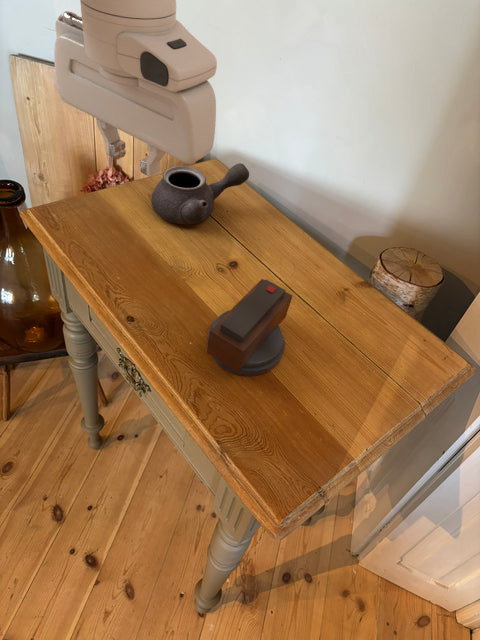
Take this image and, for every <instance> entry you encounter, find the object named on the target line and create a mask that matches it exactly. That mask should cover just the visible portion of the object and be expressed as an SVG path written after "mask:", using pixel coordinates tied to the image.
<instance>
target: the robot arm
mask: <svg viewBox="0 0 480 640" xmlns="http://www.w3.org/2000/svg"><path fill="white" fill-rule="evenodd" d="M79 3H80V13H81V14H80V15H81V16H79V15H78V14H76V13H75V12H72V11H69V10H66V11H64V12H63V13H61V14H60V15H59V16H58V18H57V20H55V23H54V24H55V35H56V39H55V42H54V50H53V52H54V54H53V57H54V58H53V59H54V78H55V88H56V91H57V94H58V95H59V97H60V99H61V100H62V102H64V103H65V104H67V105H69V106H71V107H73V108H75V109H77V110H79V111H81V112H83V113H85V114H87V115H89V116H91V117H94V118H95V119H96V127H97V129H98V131H99V133H100V135H101V136H102V137H101V138H102V139H103V141H104V143H105V148H106V149H105V150H106V155H107V156H109V157H111V158H113V159H115V160H120V159H122V158H124V157H125V156H126V155H127V154H126V152H127V151H126V141H124V140H123V139H121V136H120V134H119V131H121V132H123V133H125V134H127V135H129V136H131V137H133V138H135V139H137V140H139V141H141V142H143V143H145V144H146V151H147V152H149V153H150V154H149V155H148V156H146V157H143V158H142V159H140V160H139V165H140V169H139V170H140V173H142V174H143V175H145V176H147V177H149V178H151V179H152V178H154V177H155V176H158V174H159V173H160V165H161V164H160V163H161V160H162V159H163V158H164V156H165V155H169V156H171V157H173V158H174V159H177V160H179V161H181V162H183V163H185V164H187V165H191V164H194V163H196V162H198V161H199V160H202V159H203V158H205V157H206V156H207V155H209V153H210V152H211V151H212V150H213V147H214V144H215V143H214V142H215V134H216V123H217V122H216V121H217V100H216V94H215V93H216V92H215V90H214V87H213V86H212V84H211V83H210V81H208V80H210V79H212V78H213V77H214V76H215V75H216V72H217V68H218V67H217V66H218V62H217V61H218V60H217V58H216V56H215V54H214V53H212V51H211V50H210V49H208V48H207V47H206V46H205V45H203V43H201V41H199V40H198V39H197V38H196V37H195V36H194V35H193V34H192V33H191V32H190V31H189V30H188V29H187V28H186V27H185V26H184V25H183V24H182V23H181V22H180V21H179V20H178V19H177V0H80V1H79ZM118 130H119V131H118Z"/></svg>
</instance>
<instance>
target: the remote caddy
mask: <svg viewBox="0 0 480 640" xmlns="http://www.w3.org/2000/svg"><path fill="white" fill-rule="evenodd" d="M292 299H293V294H291V293H289V292H287V290H286V289H285V288H282V287H280V285H278V284H275V283H273V282H272V281H271V280H268V279H264V278H261V279H260V280H259V281H258V282H257V283H256V284H255V285H254V286H253V287H252V288H251V289H250V290H249V291H248V292H247V293H246V294H245V295H244V296H243V297H242V298H241V299H240V300H239V301H238V302H236V304H235V305H234V306H233V307H232V308H231V309H229V310H226V311H224V312H223V313H221V314H220V315H219V316H217V317H216V318H215V320H216V321H215V320H214V321H215V322H214V321H213V322H214V325H213V328H212V329H211V330H210V334H209V340H208V346H207V345H206V346H207V347H206V353H207V355H209V356H210V357H212V356H213V357H214V358H216V359H218V360H219V361H221V362H222V363H224V364H225V365H227V366H229V367H230V368H232V369H233V370H235V371H236V372H239V371H240V370H241V369H242V367H243V366H245V367H258V366H262V365H265V364H268V363H270V362H271V361H273V360H274V359H275V358H276V357H277V356H278V354H279V353H280V351H281V348H282V344H283V337H284V334H283V331H282V329H281V327H280V325H281V323H282V322H283V321H284V320H285V319H286V317H287V315H288V311H289V308H290V305H291V303H292ZM282 334H283V335H282Z"/></svg>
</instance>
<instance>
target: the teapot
mask: <svg viewBox="0 0 480 640" xmlns="http://www.w3.org/2000/svg"><path fill="white" fill-rule="evenodd" d="M249 178H250V171H249V169H248V168H247V167H246V166H245V164H244V163H241V162H239V163H235V164H234V165H233V166H231V167H230V168H229V169H228V170H227V172H226V174H225V175H224V177H222V179H221V180H219V181H215V182H213V183H210V184H207V177H206V175H205V174H204V173H203V172H202V171H201V170H199V169H197V168H195V167H192V166H187V165H175V166H171V167H169V168H167V169H165V171H163V173H162V178H161V179H160V180H159V181H158V183H156V185H155V186H154V189H153V191H152V192H151V193H152V194H151V198H150V202H151V207H152V210H153V211H154V212H155V214H156V215H157V216H159V217H160V218H161V219H163V220H165V221H166V222H170V223H173V224H177V225H178V224H179V225H194V224H199V223H202V222H203V221H205V220H207V219H208V218H209V217H210V216H211V215H212V213H213V212H214V208H215V207H214V206H215V205H214V204H215V200H216V199H217V198H219V196H220V195H221V194H222V193H224V191H225V190H226V189H229V188H231V187H237V186H241V185H243V184H244V183H245V182H246V181H248V179H249Z"/></svg>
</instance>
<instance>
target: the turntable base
mask: <svg viewBox="0 0 480 640" xmlns="http://www.w3.org/2000/svg"><path fill="white" fill-rule="evenodd" d="M215 321H216V319H214V320H213V322H212V323H211V325H210V326H209V329H208V333H207V339H206V344H207V345H206V346H208V340H209V334H210V330H211V329H212V328H213V325H214V322H215ZM282 335H283V344H282V348H281V351H280V353H279V354H278V356H277V357H276V358H275V359H274V360H273V361H271V362H270V363H268V364H265V365H262V366H258V367H245V366H243V367H242V369H241V370H240V371H239V372H236V371H235V370H233V369H232V368H230V367H229V366H227V365H225V364H224V363H222V362H221V361H219V360H218V359H216V358H214V357H213V356H211V358H212V359H213V361H214V362H215V363H216V364H217V365H218V366H219V367H220V368H222V369H223V370H225V371H227V372H229V373H232V374H235V375H239V376H242V377H243V376H244V377H256V376H261V375H264V374H267V373H269V372H271V371H273V370H274V369H275V368H276V367H277V366H278V365H279V363H280V362H281V360H282V358H283V356H284V352H285V347H286V346H285V345H286V343H285V337H284V334H283V333H282Z"/></svg>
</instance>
